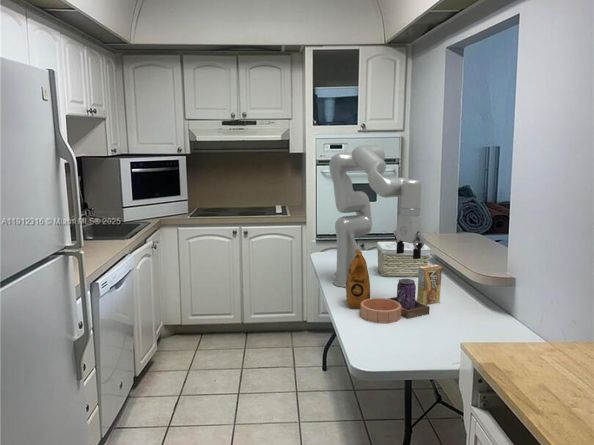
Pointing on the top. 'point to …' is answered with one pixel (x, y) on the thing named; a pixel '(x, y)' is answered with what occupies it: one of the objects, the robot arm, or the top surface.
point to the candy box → (429, 284)
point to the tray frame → (414, 310)
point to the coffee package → (357, 281)
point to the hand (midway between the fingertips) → (408, 256)
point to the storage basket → (400, 259)
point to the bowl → (380, 310)
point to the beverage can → (406, 293)
